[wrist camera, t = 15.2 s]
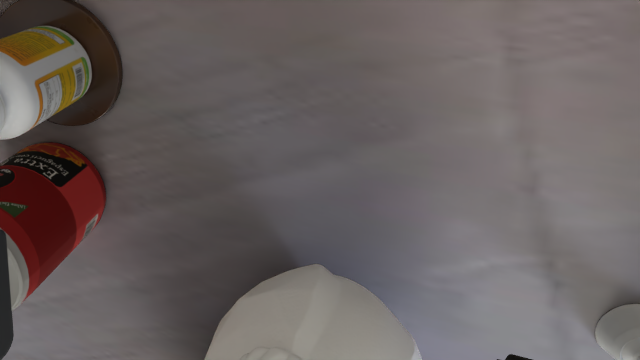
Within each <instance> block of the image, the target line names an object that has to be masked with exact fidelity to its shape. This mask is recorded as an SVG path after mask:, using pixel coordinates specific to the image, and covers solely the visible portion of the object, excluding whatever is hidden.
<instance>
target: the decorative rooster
mask: <svg viewBox="0 0 640 360" xmlns="http://www.w3.org/2000/svg"><path fill="white" fill-rule="evenodd" d="M204 360H422V358H421V355H420V353H419V350H418V348H417V346H416V343H415V341H414V339H413V337H412V336H411V334H410V333H409V332H408V331H407V330H406V329H405V328H404V326H403V325H402V324H401V323H400V322H399V321H398V319H397V318H396V317H395V316H394V315H393V314H392V312H391V311H390V310H389V309H388V308H387V307H386V306H385V304H384V303H383V302H382V301H381V300H380V299H379V298H378V297H376V296H375V295H374V294H373V293H372V292H370V291H369V290H368V289H366V288H365V287H363V286H361V285H360V284H358V283H356V282H354V281H352V280H350V279H347V278H345V277H341V276H337V275H333V274H332V273H331V272H330V271H329V270H327V269H326V268H325V267H324V266H322V265H319V264H312V265H308V266H304V267H300V268H296V269H292V270H289V271H286V272H284V273H282V274H279V275H277V276H274V277H272V278H270V279H267V280H265V281H263V282H261V283H259V284H258V285H256V286H255V287H254V288H252V289H251V290H250V291H249V292H247V293H246V294H245V295H244V296H242V297H241V298H240V299H238V301H237V302H236V303H235V304H234V305H233V307H232V308H231V309H230V310H229V311H228V312H227V314H226V315H225V316H224V317H223V318H222V319H221V321H220V322H219V325H218V327H217V329H216V332H215V334H214V337H213V339H212V342H211V344H210V347H209V349H208V352H207V354H206V357H205V359H204Z"/></svg>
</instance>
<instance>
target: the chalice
mask: <svg viewBox="0 0 640 360" xmlns="http://www.w3.org/2000/svg"><path fill="white" fill-rule="evenodd" d="M595 336H596V340H597V342H598V344H599V346H600V347H601V348H602V349H604V350H605V351H606V352H607V353H608V354H610V355H611V356H612V357H613V358H615V359H616V360H640V304H629V305H623V306H620V307H617V308H614V309H612V310H611V311H609V312H608V313H606V314H605V315H604V316H603V317H602V318H601V319H600V320H599V322H598V323H597V326H596V329H595Z"/></svg>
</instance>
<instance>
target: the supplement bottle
mask: <svg viewBox="0 0 640 360" xmlns="http://www.w3.org/2000/svg"><path fill="white" fill-rule="evenodd" d="M91 79H92V69H91V63H90V60H89V57H88V55H87V53H86V51H85V50H84V48H83V47H82V45H81V44H80V43H79V42H78V41H77V40H76V39H75V38H74V37H73V36H71V35H70V34H69V33H67V32H65V31H63V30H61V29H59V28H56V27H52V26H37V27H34V28H30V29H27V30H24V31H22V32H19V33H16V34H13V35H11V36H8V37H5V38H2V39H0V139H3V140H4V139H11V138H15V137H18V136H20V135H22V134H24V133H26V132H27V131H29V130H30V129H32V128H33V127H35V126H37V125H38V124H40V123H41V122H43V121H45V120H46V119H48V118H50V117H51V116H53V115H54V114H56V113H58V112H59V111H61V110H63V109H64V108H66V107H67V106H69V105H71V104H72V103H74V102H76V101H77V100H79V99H80V98H81V97H82V96H83V95H84V94H85V93H86V92H87V90H88V88H89V86H90V83H91Z"/></svg>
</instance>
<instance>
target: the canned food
mask: <svg viewBox="0 0 640 360" xmlns="http://www.w3.org/2000/svg"><path fill="white" fill-rule="evenodd" d="M105 202H106V193H105V187H104V184H103V181H102V178H101V176H100V174H99V172H98V171H97V170H96V168H95V167H94V165H93V164H92V163H91V162H90V161H89V160H88V159H87V158H86V157H85V156H84V155H82V154H81V153H80V152H78V151H77V150H75V149H73V148H71V147H69V146H66V145H63V144H60V143H53V142H49V143H39V144H34V145H31V146H27V147H26V148H24V149H22V150H21V151H19V152H18V153H16V154H14V155H13V156H11V157H10V158H8V159H7V160H5V161H4V162H2V163H0V229H1V230H3V231H4V232H5V233H6V239H7V253H8V267H9V280H10V294H11V308H12V311H13V310H14V309H15V308H17V307H18V306H19V305H20V304H21V303H22V302H23V301H24V300H25V299H26V298H27V297H28V296H29V295H30V294H31V293H32V292H33V291H34V290H35V289H36V288H37V287H38V286H39V285H40V284H41V283H42V282H43V281H44V280H45V279H46V278H47V277H48V276H49V275H50V274H51V273H52V271H53V270H54V269H55V268H56V267H57V266H58V265H59V264H60V263H61V262H62V261H63V260H64V259H65V258H66V257H67V256H68V255H69V254H70V253H71V252H72V250H73V249H74V248H75V247H76V246H77V245H78V244H79V243H80V242H81V241H82V240H83V239H84V238H85V237H86V236H87V235H88V234H89V233H90V232H91V231H92V230H93V228H94V227H95V226H96V225H97V224H98V222H99V221H100V219H101V216H102V213H103V210H104V208H105Z"/></svg>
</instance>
